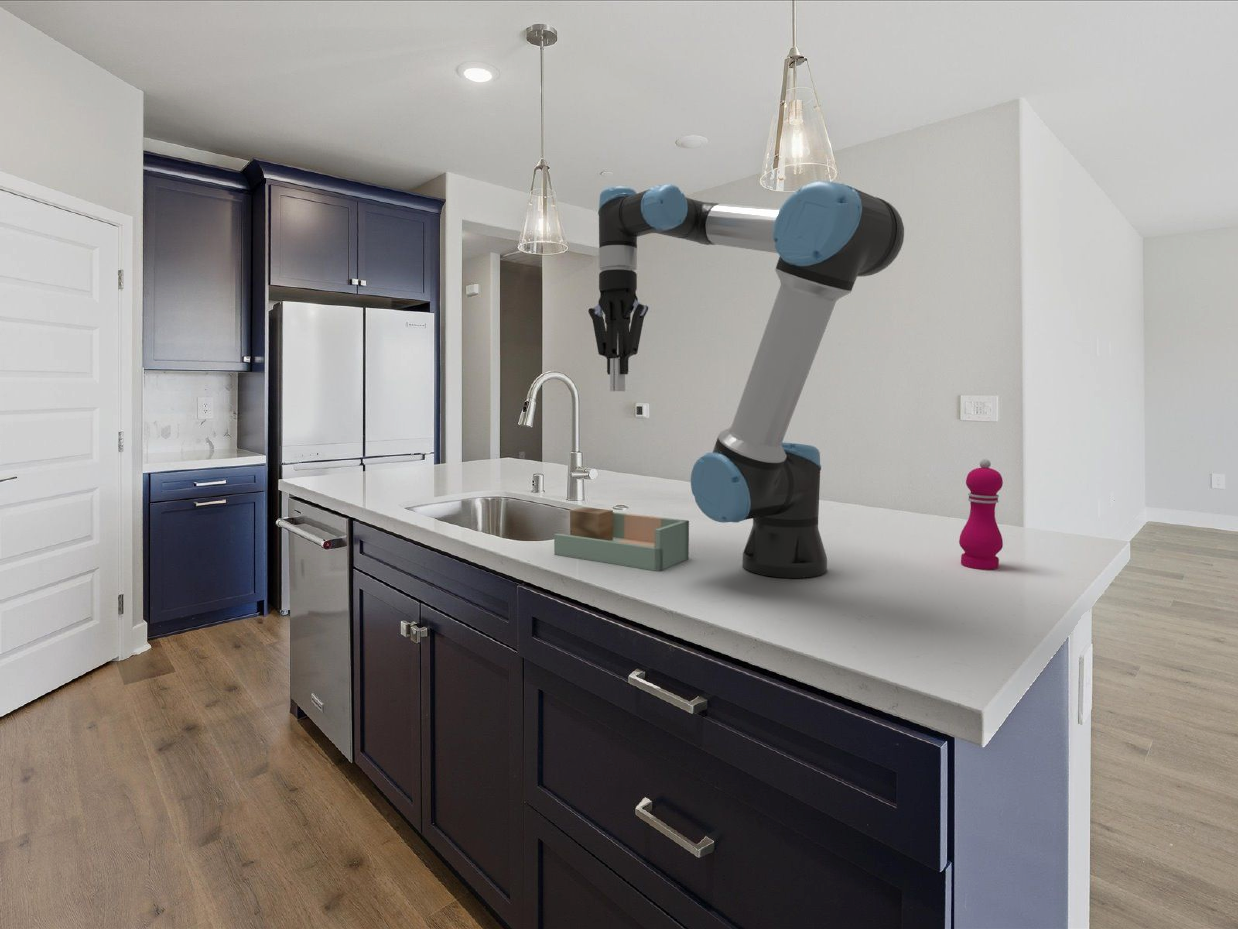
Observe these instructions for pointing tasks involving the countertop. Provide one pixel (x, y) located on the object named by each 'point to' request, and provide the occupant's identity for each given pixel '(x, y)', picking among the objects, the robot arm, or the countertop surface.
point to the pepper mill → (982, 519)
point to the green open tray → (632, 543)
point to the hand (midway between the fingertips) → (617, 391)
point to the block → (592, 523)
